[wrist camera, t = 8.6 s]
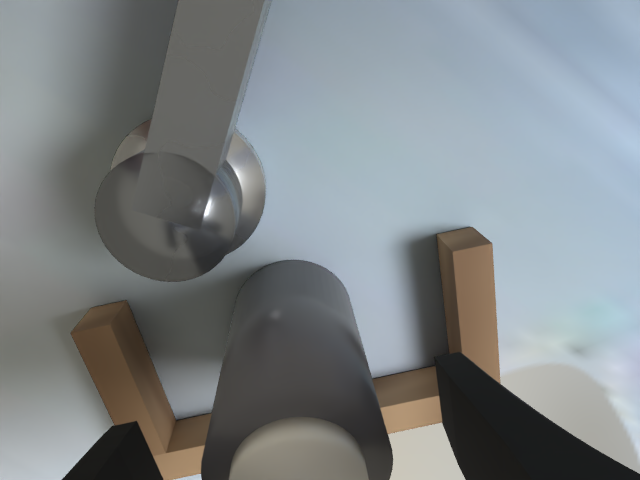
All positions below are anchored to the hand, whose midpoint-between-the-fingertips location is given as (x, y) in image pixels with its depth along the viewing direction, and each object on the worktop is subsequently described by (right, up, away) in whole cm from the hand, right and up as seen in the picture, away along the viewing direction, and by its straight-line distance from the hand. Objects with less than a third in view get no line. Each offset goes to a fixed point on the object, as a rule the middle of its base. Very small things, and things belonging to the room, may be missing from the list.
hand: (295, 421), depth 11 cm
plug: (0, +2, +5) cm, 5 cm away
